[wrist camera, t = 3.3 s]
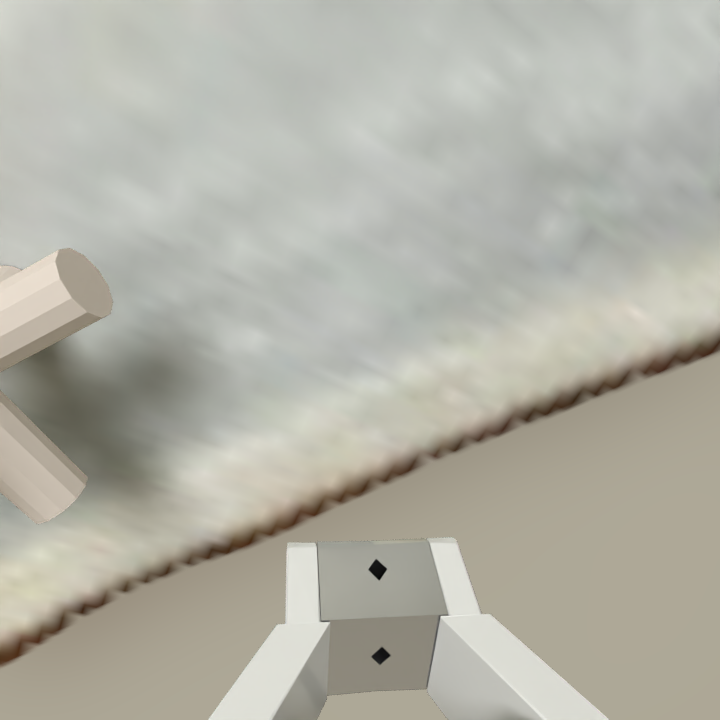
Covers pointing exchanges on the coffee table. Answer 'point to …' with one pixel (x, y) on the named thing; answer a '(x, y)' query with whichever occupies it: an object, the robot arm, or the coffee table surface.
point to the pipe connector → (25, 338)
